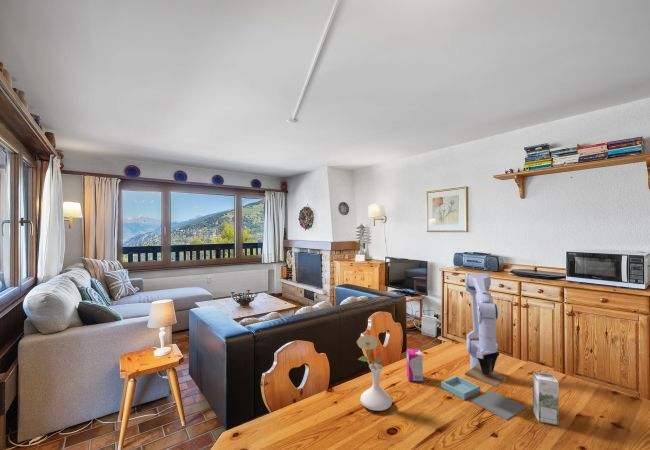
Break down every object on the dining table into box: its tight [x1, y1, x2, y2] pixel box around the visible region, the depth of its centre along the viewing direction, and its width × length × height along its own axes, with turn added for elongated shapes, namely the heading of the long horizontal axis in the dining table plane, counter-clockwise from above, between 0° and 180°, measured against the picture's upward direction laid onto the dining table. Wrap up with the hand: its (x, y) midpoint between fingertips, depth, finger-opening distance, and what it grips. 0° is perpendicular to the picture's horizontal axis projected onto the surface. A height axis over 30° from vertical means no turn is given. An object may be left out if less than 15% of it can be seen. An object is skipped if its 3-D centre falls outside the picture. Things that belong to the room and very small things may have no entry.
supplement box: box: [406, 348, 424, 383], centre depth 128 cm, size 6×6×12 cm
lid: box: [464, 364, 509, 388], centre depth 112 cm, size 11×11×5 cm
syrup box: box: [532, 371, 560, 426], centre depth 101 cm, size 6×6×14 cm
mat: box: [470, 389, 528, 421], centre depth 109 cm, size 13×13×1 cm
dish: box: [440, 375, 481, 401], centre depth 118 cm, size 10×10×2 cm
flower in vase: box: [356, 334, 393, 412], centre depth 110 cm, size 13×11×25 cm
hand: (487, 372), depth 111 cm, fingers closed on lid, 3 cm apart
